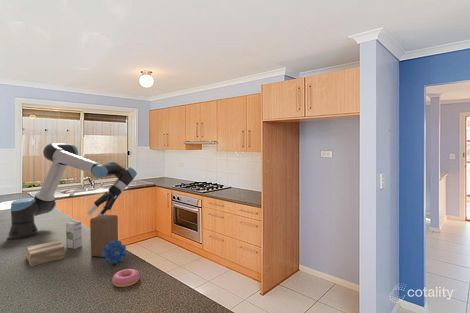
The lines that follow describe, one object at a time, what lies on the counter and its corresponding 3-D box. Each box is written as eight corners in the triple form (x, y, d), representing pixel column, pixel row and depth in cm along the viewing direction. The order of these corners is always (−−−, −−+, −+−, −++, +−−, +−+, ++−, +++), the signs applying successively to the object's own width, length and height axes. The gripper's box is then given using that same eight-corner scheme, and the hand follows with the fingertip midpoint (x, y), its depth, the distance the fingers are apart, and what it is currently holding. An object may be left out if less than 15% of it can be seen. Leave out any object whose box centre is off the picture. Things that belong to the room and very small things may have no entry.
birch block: (26, 258, 138) (26, 246, 138) (58, 250, 148) (58, 240, 148) (31, 266, 128) (30, 254, 128) (64, 258, 138) (64, 246, 138)
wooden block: (106, 258, 138) (106, 219, 137) (90, 256, 140) (89, 218, 139) (119, 250, 147) (118, 214, 147) (103, 249, 149) (102, 214, 149)
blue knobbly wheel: (105, 270, 123) (105, 245, 123) (100, 266, 128) (99, 241, 128) (130, 263, 132) (129, 239, 131) (124, 259, 136) (124, 235, 136)
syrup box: (82, 245, 155) (82, 220, 155) (73, 249, 150) (72, 223, 149) (75, 244, 157) (74, 220, 157) (66, 248, 152) (65, 222, 151)
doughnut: (111, 291, 106) (111, 281, 106) (112, 278, 116) (112, 269, 116) (140, 285, 110) (140, 275, 110) (138, 274, 121) (138, 265, 120)
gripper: (130, 194, 164) (105, 223, 154) (113, 190, 181) (89, 216, 170) (121, 186, 160) (95, 216, 149) (104, 183, 177) (80, 209, 166)
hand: (92, 216), depth 160 cm, fingers open, 13 cm apart
